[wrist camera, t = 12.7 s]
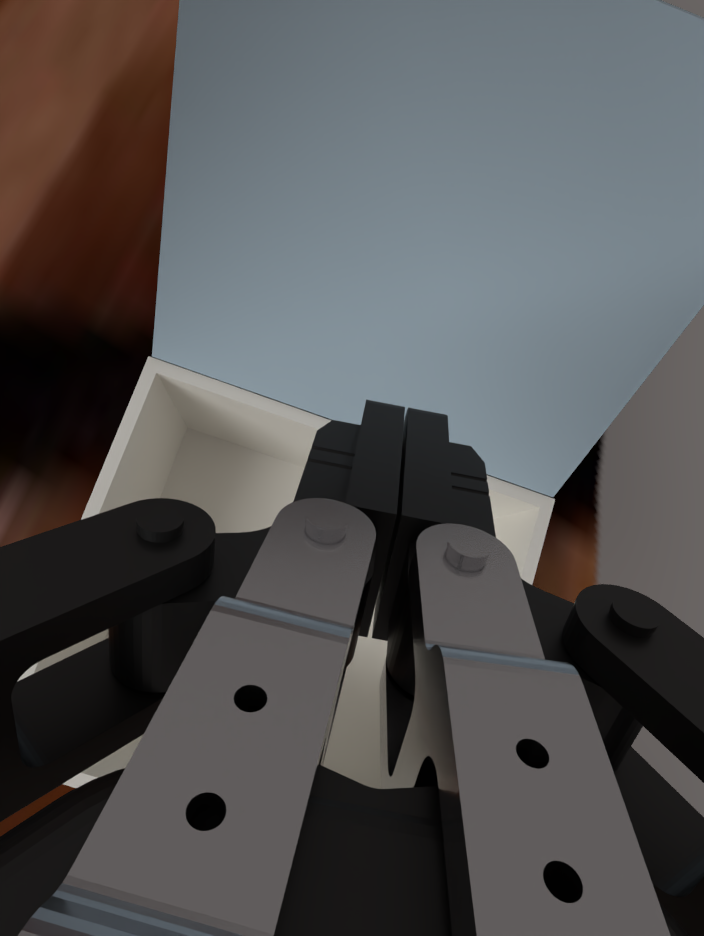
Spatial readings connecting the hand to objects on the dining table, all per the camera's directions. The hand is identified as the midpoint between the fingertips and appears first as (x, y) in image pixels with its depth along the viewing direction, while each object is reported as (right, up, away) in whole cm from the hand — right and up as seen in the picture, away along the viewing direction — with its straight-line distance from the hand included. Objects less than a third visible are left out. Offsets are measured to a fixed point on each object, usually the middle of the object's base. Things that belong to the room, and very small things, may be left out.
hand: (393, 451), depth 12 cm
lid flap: (+2, +7, +12) cm, 14 cm away
